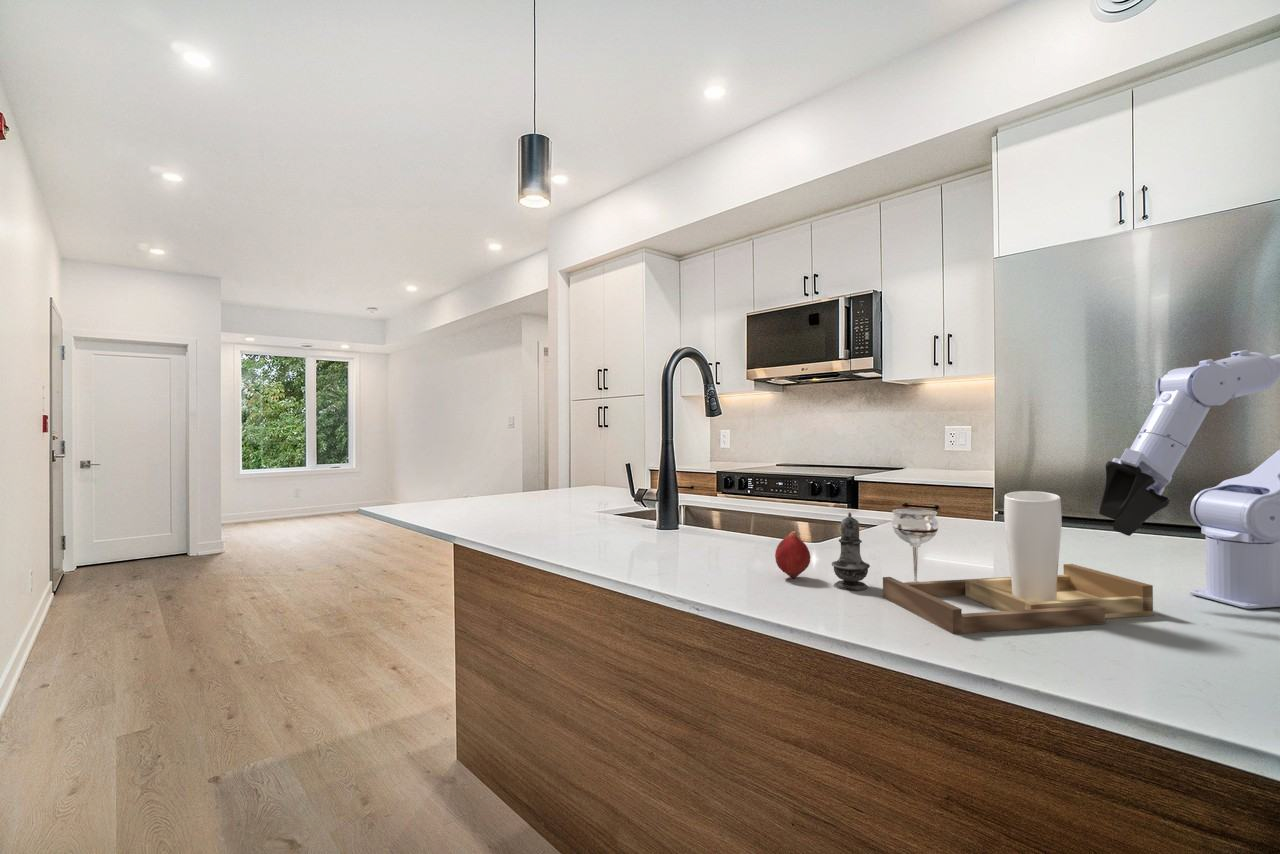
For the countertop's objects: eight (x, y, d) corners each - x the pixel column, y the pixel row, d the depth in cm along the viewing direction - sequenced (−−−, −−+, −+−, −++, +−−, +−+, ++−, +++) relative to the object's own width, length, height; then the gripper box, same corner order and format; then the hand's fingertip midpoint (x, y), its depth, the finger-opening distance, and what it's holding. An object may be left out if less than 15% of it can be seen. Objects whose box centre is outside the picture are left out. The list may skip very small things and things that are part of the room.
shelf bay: (1011, 589, 96) (1010, 570, 96) (1104, 623, 80) (1104, 600, 80) (883, 597, 93) (882, 577, 93) (952, 633, 77) (952, 609, 77)
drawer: (1072, 589, 95) (1072, 563, 95) (1153, 615, 82) (1152, 585, 82) (965, 596, 93) (964, 569, 93) (1031, 623, 80) (1030, 592, 80)
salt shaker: (871, 583, 101) (870, 510, 101) (868, 592, 96) (867, 515, 96) (834, 580, 103) (833, 509, 103) (829, 589, 98) (828, 513, 98)
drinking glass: (1072, 609, 83) (1071, 500, 82) (1017, 609, 85) (1015, 502, 83) (1049, 591, 90) (1047, 489, 89) (998, 591, 91) (996, 491, 90)
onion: (776, 581, 103) (775, 534, 103) (774, 573, 109) (773, 528, 109) (812, 582, 102) (811, 534, 102) (808, 574, 108) (807, 528, 108)
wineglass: (898, 579, 104) (897, 507, 104) (943, 584, 100) (941, 510, 100) (888, 588, 98) (886, 512, 98) (934, 594, 94) (933, 515, 94)
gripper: (1140, 451, 96) (1097, 527, 96) (1117, 414, 87) (1069, 497, 87) (1196, 467, 90) (1150, 548, 90) (1177, 428, 82) (1126, 518, 82)
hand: (1114, 524), depth 88 cm, fingers open, 7 cm apart
